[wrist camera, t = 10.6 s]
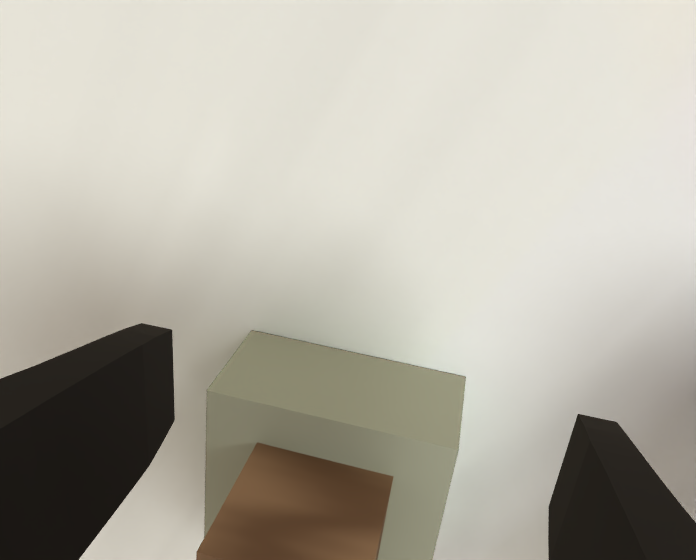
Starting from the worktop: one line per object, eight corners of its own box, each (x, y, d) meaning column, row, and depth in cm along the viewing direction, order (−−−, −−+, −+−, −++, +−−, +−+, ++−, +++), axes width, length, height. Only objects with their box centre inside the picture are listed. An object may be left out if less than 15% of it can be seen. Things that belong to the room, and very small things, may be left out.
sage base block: (466, 377, 22) (458, 449, 19) (428, 539, 26) (416, 626, 22) (251, 330, 23) (206, 390, 20) (243, 490, 27) (204, 566, 23)
